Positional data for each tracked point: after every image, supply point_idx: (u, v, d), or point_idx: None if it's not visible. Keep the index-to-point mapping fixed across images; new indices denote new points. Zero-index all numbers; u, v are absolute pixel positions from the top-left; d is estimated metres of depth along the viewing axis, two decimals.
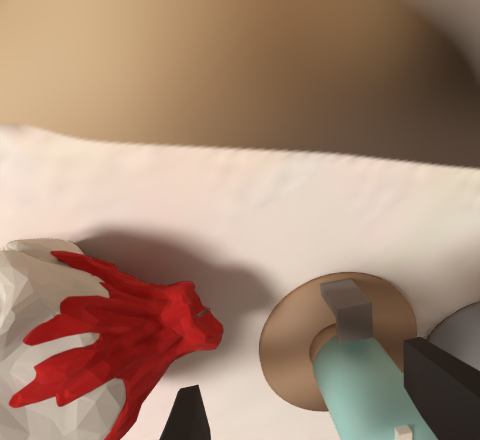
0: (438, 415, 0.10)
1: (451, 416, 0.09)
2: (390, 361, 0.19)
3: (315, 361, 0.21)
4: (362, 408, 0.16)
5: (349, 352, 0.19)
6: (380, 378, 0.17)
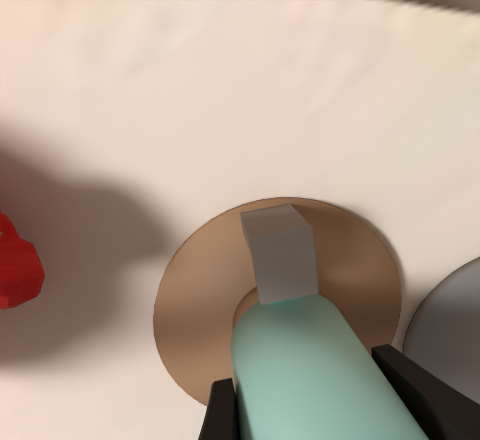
0: None
1: None
2: (348, 333, 0.11)
3: (232, 339, 0.13)
4: (277, 419, 0.08)
5: (278, 319, 0.11)
6: (321, 361, 0.09)
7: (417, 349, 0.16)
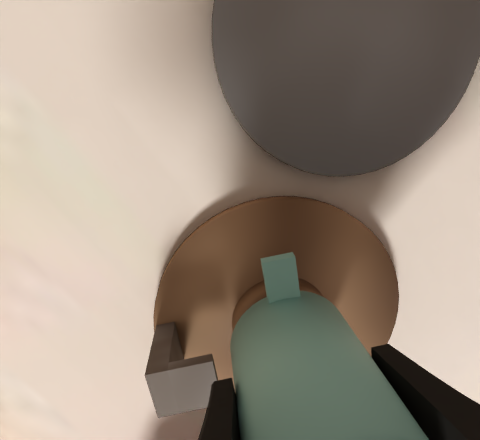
0: None
1: None
2: (347, 333, 0.11)
3: (232, 339, 0.13)
4: (276, 420, 0.08)
5: (278, 319, 0.11)
6: (320, 361, 0.09)
7: (338, 168, 0.13)
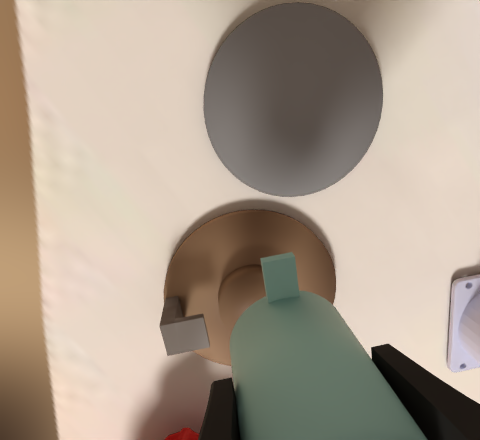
0: None
1: None
2: (346, 333, 0.11)
3: (231, 338, 0.13)
4: (276, 416, 0.08)
5: (277, 319, 0.11)
6: (320, 360, 0.09)
7: (288, 191, 0.19)
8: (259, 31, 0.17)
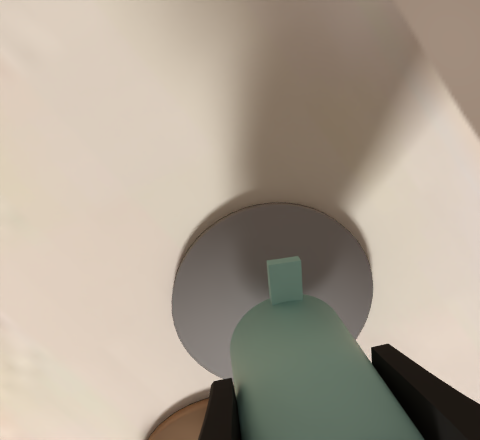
0: None
1: None
2: (349, 338, 0.11)
3: (232, 338, 0.13)
4: (282, 418, 0.08)
5: (281, 321, 0.11)
6: (325, 364, 0.09)
7: None
8: (231, 235, 0.15)
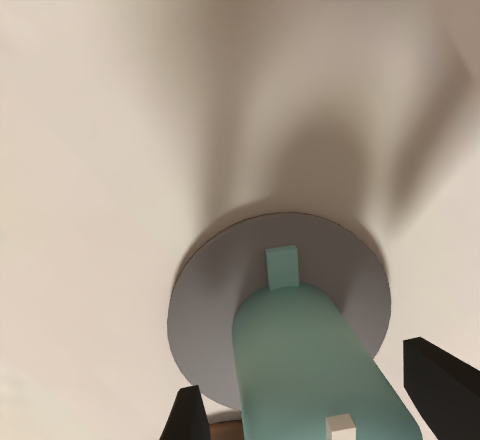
0: (438, 415, 0.10)
1: (451, 416, 0.09)
2: (340, 319, 0.12)
3: (234, 322, 0.14)
4: (276, 384, 0.09)
5: (278, 304, 0.12)
6: (316, 338, 0.10)
7: None
8: (234, 250, 0.13)
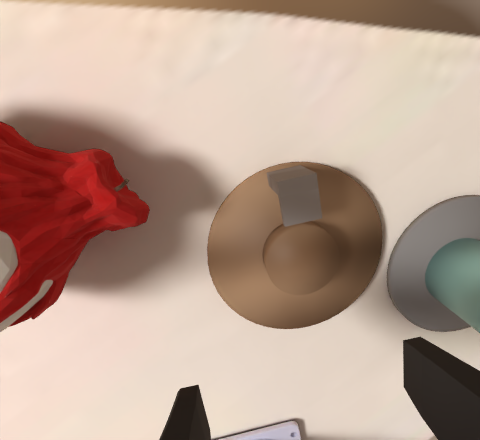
0: (438, 415, 0.10)
1: (451, 416, 0.09)
2: None
3: (476, 239, 0.21)
4: None
5: None
6: None
7: (396, 273, 0.22)
8: None
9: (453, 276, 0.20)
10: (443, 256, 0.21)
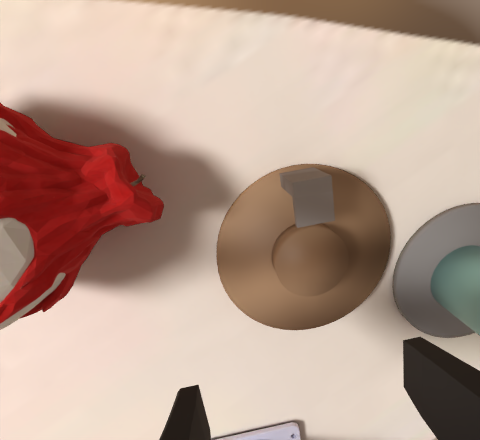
0: (438, 415, 0.10)
1: (451, 416, 0.09)
2: None
3: None
4: None
5: None
6: None
7: (402, 277, 0.22)
8: None
9: (459, 283, 0.20)
10: (450, 262, 0.21)
